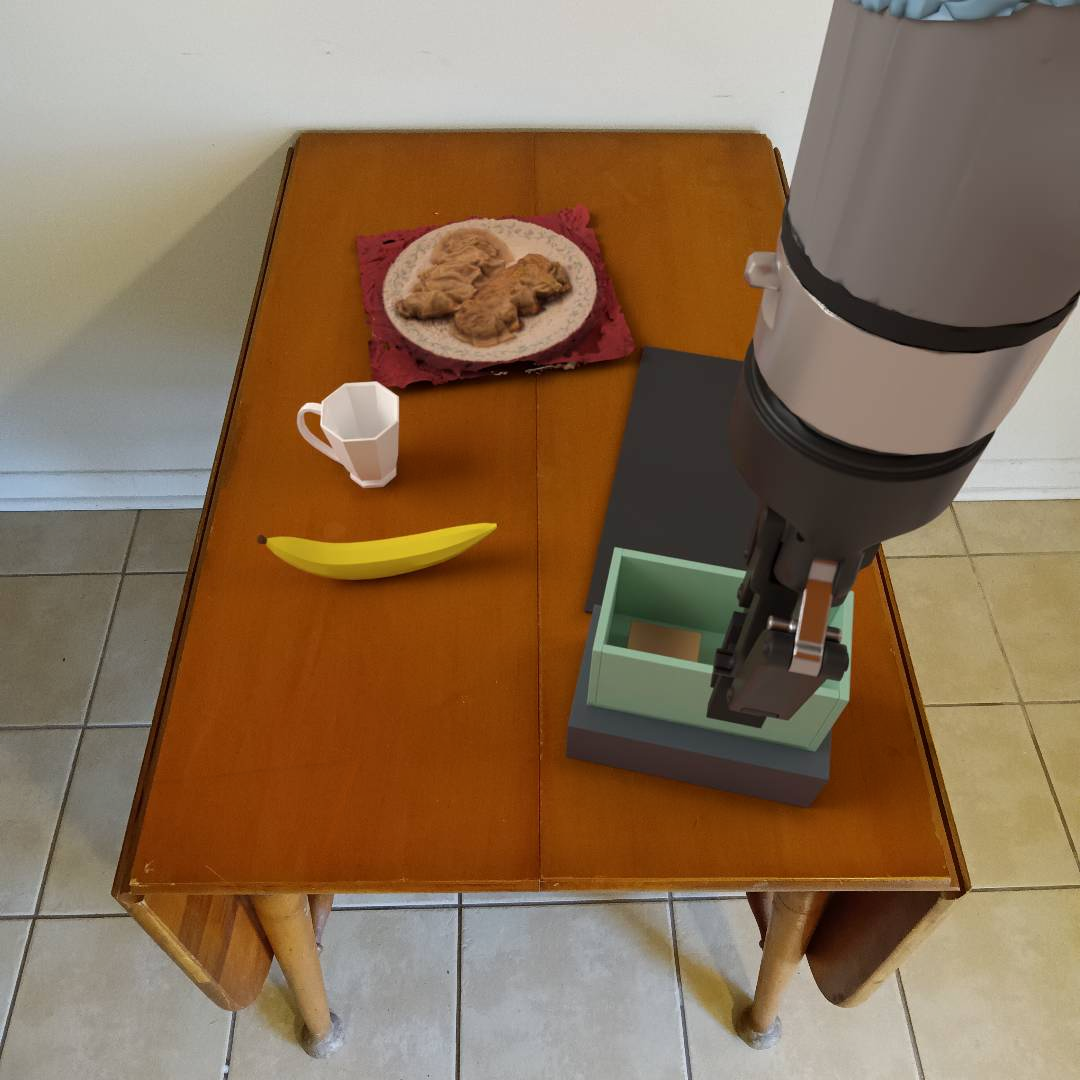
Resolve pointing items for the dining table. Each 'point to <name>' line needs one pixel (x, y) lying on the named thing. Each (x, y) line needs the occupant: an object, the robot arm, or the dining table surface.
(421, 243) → the plate with food
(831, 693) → the open box
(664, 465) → the mat
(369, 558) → the banana
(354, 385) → the cup
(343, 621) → the dining table surface
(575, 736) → the block
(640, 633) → the brown rectangular tile
